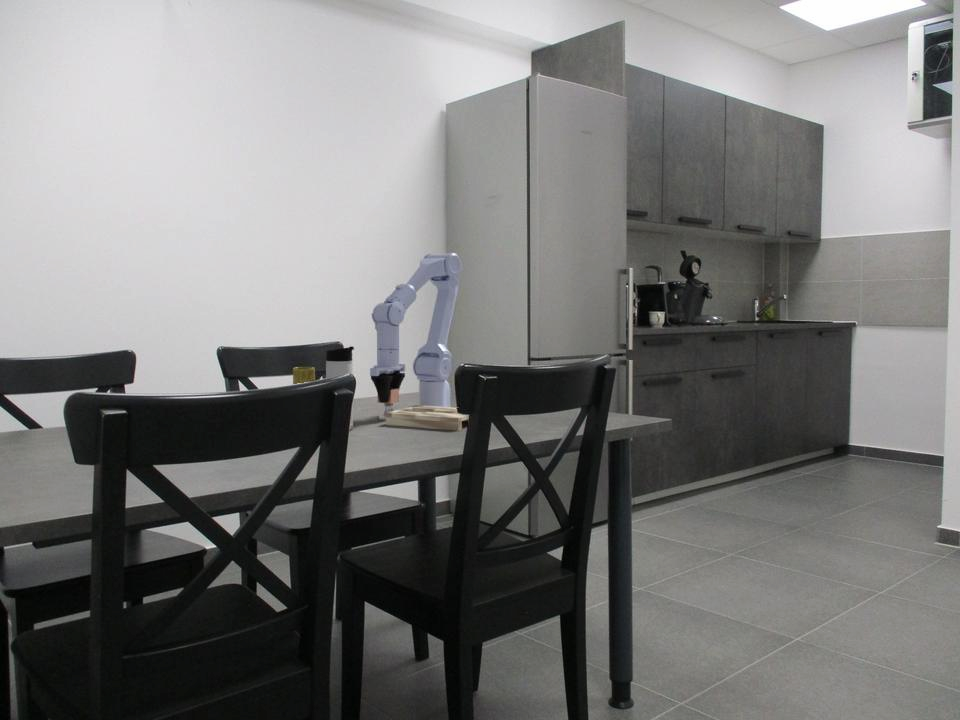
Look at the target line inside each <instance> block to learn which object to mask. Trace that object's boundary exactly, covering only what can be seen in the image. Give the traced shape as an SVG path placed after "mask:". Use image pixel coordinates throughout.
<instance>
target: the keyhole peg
mask: <svg viewBox="0 0 960 720" xmlns="http://www.w3.org/2000/svg"><path fill="white" fill-rule="evenodd" d="M399 396H400V389H398V388H390V389H389V399H388V402H387V403H382V402H380V401H379V398H378V397H377V404H383V414H379V416H378V420H379V421H382V422H384V421H385V422H386V413H387V412H391V411H394V404H395V403H399V402H400V397H399Z"/></svg>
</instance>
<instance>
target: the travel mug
mask: <svg viewBox="0 0 960 720" xmlns="http://www.w3.org/2000/svg"><path fill="white" fill-rule="evenodd" d="M354 350H355V347H354V346H349V347H343V348H342V347H341V348H340V347H339V348H334V349H329V350H328V349H327V350H326V352H325V356H326V359H325V379H326V378H328V377H333V376H338V375H341V374H345V373H351V374H354V373H353V372H354V371H353V370H354V368H353V367H354V364H353V361H354V360H353V351H354ZM353 429H354V404H353V405H352V413H351V428H350V431H352V430H353Z"/></svg>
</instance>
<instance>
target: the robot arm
mask: <svg viewBox="0 0 960 720" xmlns="http://www.w3.org/2000/svg"><path fill="white" fill-rule="evenodd" d="M462 271H463V264H462V261H461V259H460V257H459V255H458V254H457V253H456V252H455V253H454V252H450V253H427V254H425V255H424V257H423V258H422V259H420V262H419V267H418V268H416V270H415V272H414V273H413V275H412V276H411V277H410V278H409V280H408V281H407V283H400V284H396V286H395V289H394V290H393V291H392V292H391V293H390V295H389V296H387V297H386V298H385V300H384V301H383V302H379V303H377V304H376V305H375V306H374V308H373V310H372V313H371V318H372V321H373V322H374V323H373V324H374V330H375V331H376V365H373V366H372V367H371V368H369V371H370V372H369V376H370V379H371V381H372V383H373V385H374V387H375V389H376V392H377V393H376V394H377V399H378V398H379V401H380V402H382V403H381V404H384V403H387V402H388V399H389V389H390V388H398V389H399V390H400V388H401V385H402V383H403V380H405V379H404V378H405V377H406V374H405V372H406V364H405V363H400V324H401V323H403V321H404V319H405V314H406V312H407V311H408V309H409V308H410V307H411V306H412V304H413V303H414V302H415V301H416V299H417V292H419V290H421V288H422V287H424V286H425V285H426V284H427V283H428V282H429V281H430V282H431V284H432V285H433V286H435V287H436V289H437V294H436V299H435V303H434V307H433V312H432V316H431V322H430V326H429V331H428V334H427V340H426V343H425V344H423V345H422V346H421V347H420V348H419V349H418V352H417V354H416V356H415V358H414V360H413V362H412V371H413V374H414V375H415V376H416V380H418V405H423V406H437V407H451V386H450V383H449V382H448V381H447V380H448V378H449V377H450V375H451V372H452V358H453V355H452V353H451V352H450V351H449V349H447V342H448V337H449V333H450V328H451V324H452V320H453V315H454V310H455V304H456V301H457V296H458V292H459V285H460V280H461V275H462Z"/></svg>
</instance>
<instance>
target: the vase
mask: <svg viewBox="0 0 960 720" xmlns="http://www.w3.org/2000/svg"><path fill="white" fill-rule="evenodd" d="M315 369H316V368H315V367H313V366H297V367H296V366H295V367H292V385H293V384H297V383H304V382H308V381H312V380H315V381H316V372H315V371H316V370H315Z"/></svg>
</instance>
